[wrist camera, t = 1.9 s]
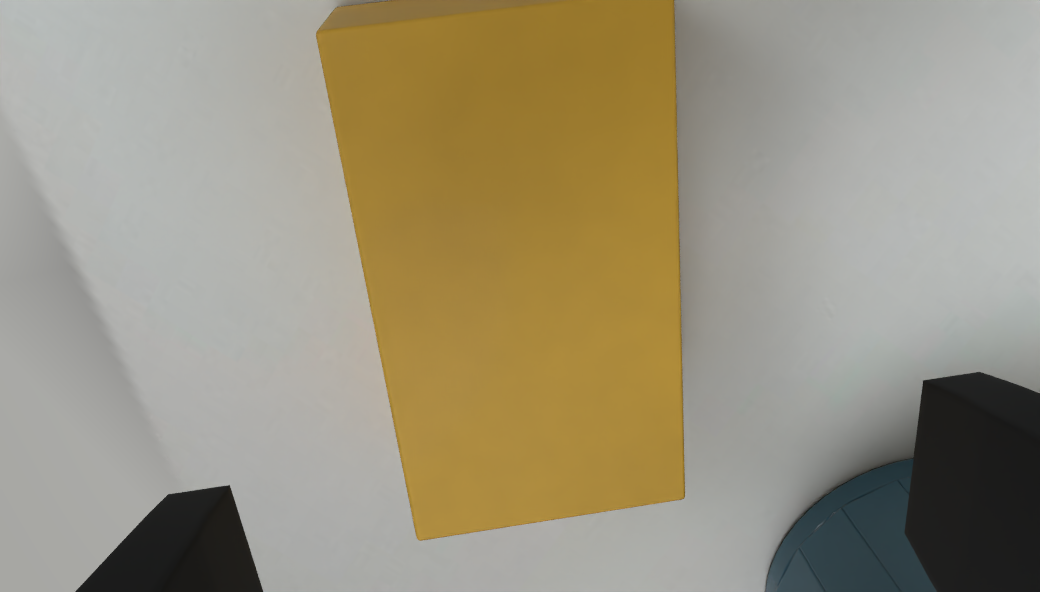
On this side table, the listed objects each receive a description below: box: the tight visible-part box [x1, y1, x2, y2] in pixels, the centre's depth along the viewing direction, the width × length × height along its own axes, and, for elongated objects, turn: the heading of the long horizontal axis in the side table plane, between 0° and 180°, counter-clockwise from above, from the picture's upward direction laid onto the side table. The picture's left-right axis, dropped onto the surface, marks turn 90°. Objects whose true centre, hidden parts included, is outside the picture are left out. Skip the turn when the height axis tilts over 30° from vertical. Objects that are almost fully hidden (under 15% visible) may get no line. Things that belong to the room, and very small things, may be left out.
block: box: [316, 0, 685, 541], centre depth 15 cm, size 9×5×3 cm, turn 6°
